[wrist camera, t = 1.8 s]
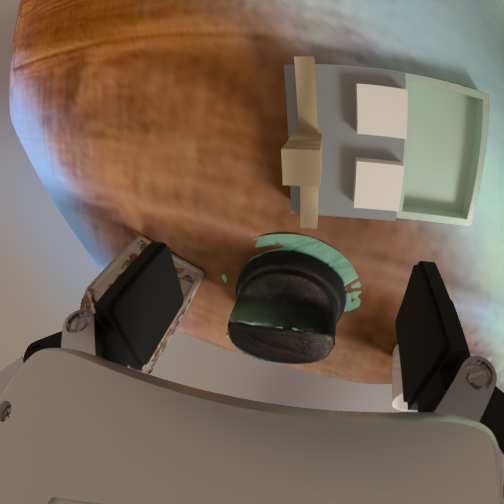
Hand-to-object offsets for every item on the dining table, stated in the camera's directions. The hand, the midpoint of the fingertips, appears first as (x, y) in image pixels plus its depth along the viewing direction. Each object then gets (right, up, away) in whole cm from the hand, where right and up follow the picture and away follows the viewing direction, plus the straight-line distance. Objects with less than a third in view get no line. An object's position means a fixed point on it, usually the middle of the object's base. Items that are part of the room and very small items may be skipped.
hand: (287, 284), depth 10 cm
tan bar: (+4, +11, +14) cm, 18 cm away
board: (+8, +13, +15) cm, 21 cm away
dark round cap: (+4, -5, +29) cm, 29 cm away
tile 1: (+10, +14, +10) cm, 20 cm away
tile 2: (+11, +8, +14) cm, 19 cm away
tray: (+18, +12, +13) cm, 25 cm away
